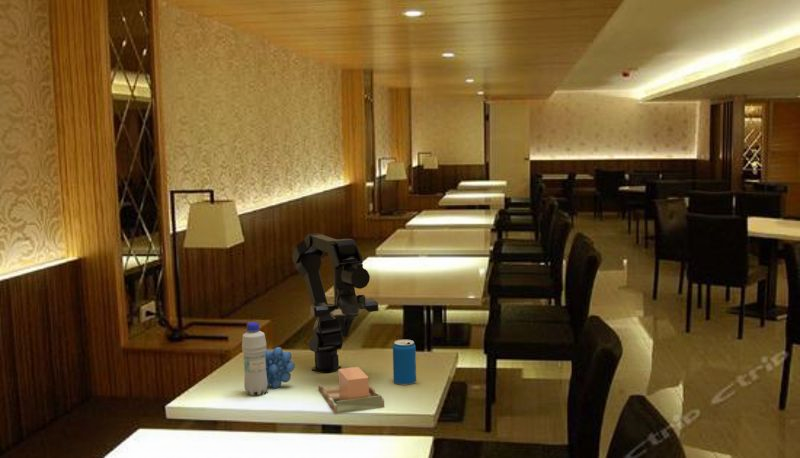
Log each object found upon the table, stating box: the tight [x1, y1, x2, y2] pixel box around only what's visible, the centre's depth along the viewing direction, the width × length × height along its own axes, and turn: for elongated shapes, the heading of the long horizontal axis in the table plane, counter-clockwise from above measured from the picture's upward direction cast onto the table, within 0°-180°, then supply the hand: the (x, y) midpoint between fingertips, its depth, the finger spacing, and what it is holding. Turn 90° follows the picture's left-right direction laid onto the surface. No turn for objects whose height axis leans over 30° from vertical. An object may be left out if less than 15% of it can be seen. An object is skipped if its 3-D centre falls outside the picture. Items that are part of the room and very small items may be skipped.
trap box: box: [317, 383, 385, 415], centre depth 202 cm, size 20×13×4 cm, turn 18°
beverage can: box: [392, 339, 417, 386], centre depth 214 cm, size 6×6×12 cm
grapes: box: [265, 346, 296, 389], centre depth 213 cm, size 12×7×12 cm, turn 88°
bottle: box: [241, 321, 268, 396], centre depth 209 cm, size 7×7×20 cm
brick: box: [337, 366, 370, 401], centre depth 198 cm, size 10×6×8 cm, turn 18°
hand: (345, 336), depth 217 cm, fingers closed
